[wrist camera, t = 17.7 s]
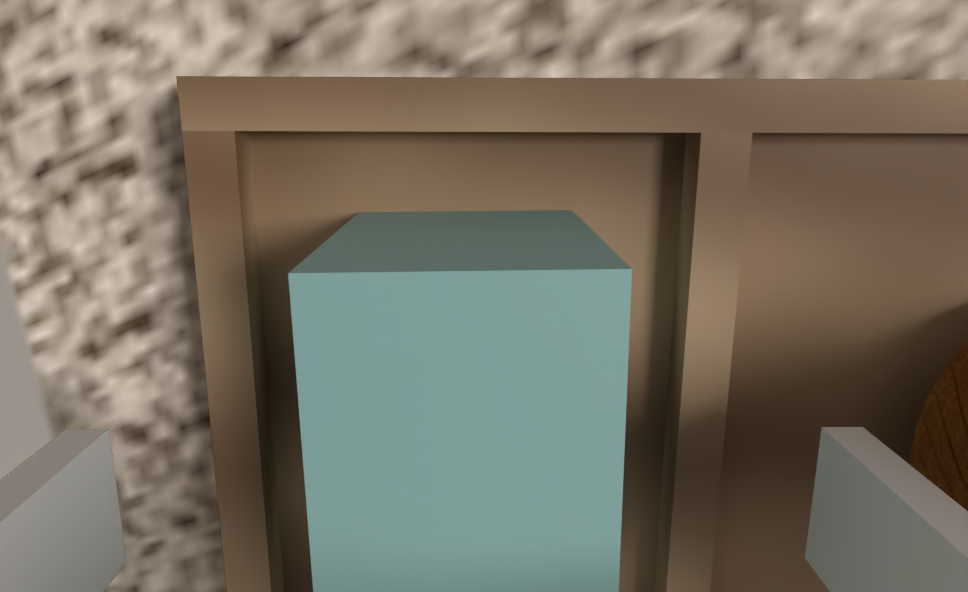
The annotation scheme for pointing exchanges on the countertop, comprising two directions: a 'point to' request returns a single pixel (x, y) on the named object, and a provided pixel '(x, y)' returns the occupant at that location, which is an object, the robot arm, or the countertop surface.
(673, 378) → the divided compartment tray
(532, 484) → the teal rectangular block
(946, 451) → the disposable coffee cup
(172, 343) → the countertop surface
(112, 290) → the countertop surface
